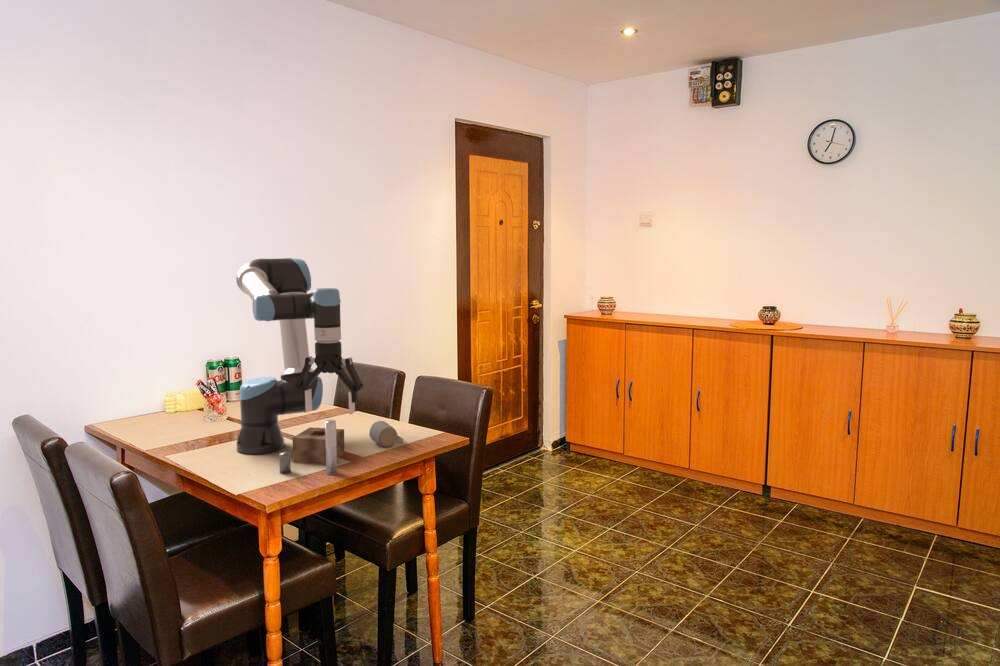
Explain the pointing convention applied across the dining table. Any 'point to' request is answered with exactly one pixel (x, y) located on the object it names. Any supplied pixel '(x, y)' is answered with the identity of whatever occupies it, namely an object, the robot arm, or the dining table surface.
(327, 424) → the tall pin
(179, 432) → the dining table surface
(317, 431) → the hole block
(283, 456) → the short pin
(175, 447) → the dining table surface
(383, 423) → the ceramic mug
